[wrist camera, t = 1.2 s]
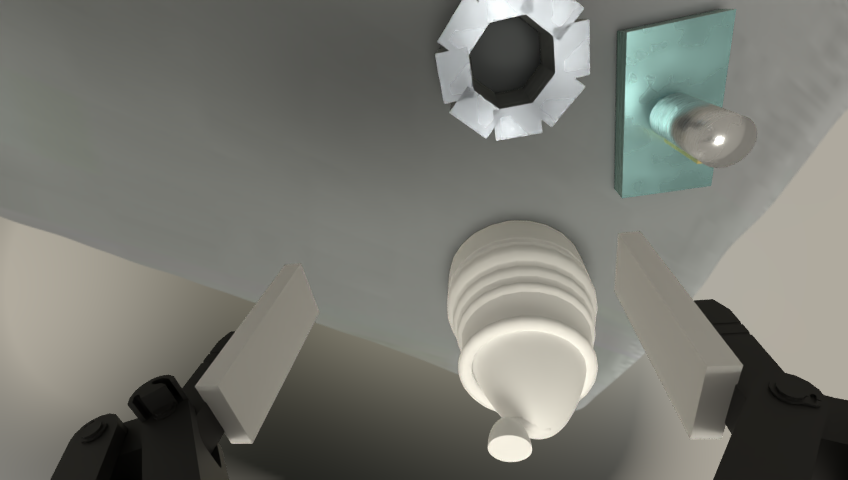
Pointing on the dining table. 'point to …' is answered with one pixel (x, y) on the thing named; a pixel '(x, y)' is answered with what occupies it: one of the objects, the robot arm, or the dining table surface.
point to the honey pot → (523, 330)
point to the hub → (543, 92)
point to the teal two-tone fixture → (676, 105)
